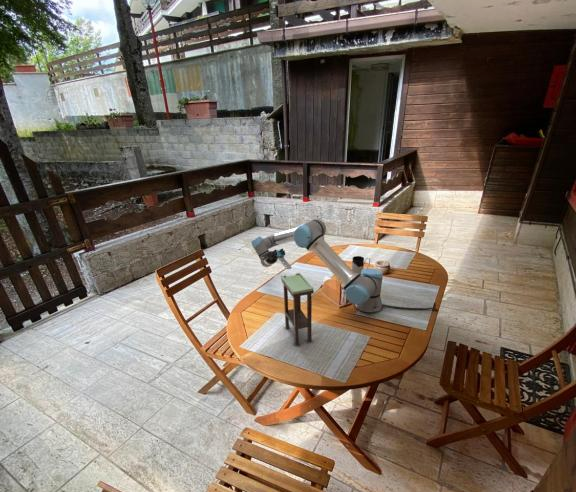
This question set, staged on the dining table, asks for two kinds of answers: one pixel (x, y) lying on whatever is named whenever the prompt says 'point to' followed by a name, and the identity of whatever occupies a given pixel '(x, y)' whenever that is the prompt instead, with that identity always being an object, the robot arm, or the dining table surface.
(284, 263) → the blue grooved block
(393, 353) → the dining table surface
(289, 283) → the tray
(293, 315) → the stand
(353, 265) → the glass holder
